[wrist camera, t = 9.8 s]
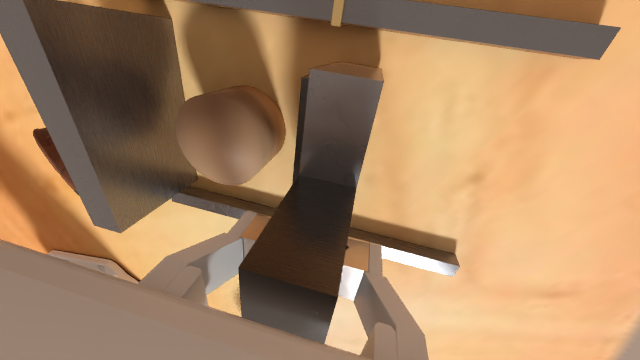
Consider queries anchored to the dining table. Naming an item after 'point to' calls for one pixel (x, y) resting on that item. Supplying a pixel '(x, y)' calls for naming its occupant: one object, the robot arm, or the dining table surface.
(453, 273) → the press frame
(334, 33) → the dining table surface
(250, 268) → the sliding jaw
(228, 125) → the brown short cylinder
